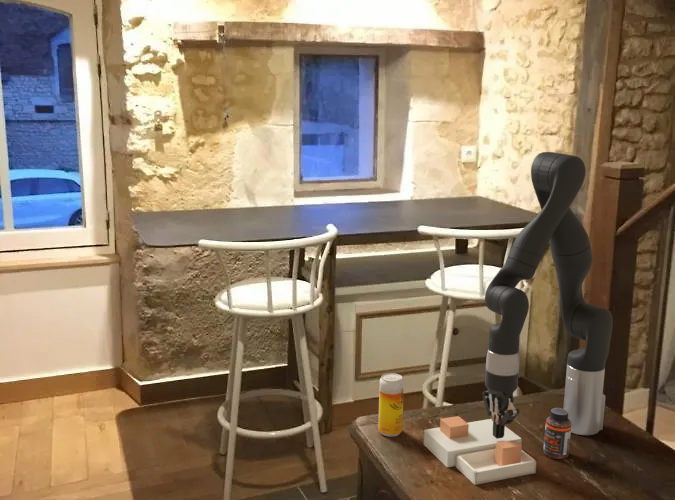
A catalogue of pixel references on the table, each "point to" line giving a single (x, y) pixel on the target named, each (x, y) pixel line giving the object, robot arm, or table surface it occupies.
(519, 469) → the tray
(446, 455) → the slab
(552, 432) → the supplement bottle
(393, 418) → the beer can
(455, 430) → the orange square block
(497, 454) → the tile
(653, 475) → the table surface
